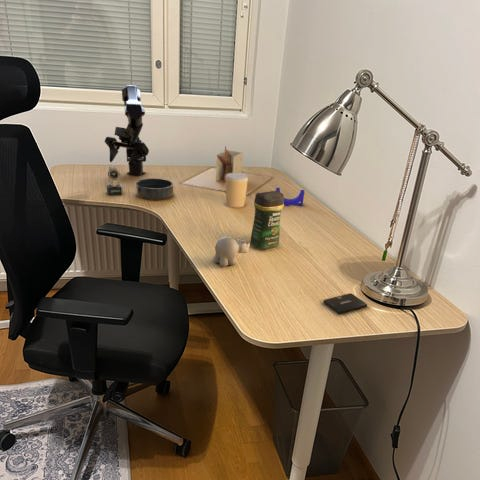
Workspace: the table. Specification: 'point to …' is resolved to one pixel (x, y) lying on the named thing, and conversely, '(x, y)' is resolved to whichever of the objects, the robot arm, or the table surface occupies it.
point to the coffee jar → (267, 219)
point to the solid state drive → (345, 303)
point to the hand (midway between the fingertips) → (119, 163)
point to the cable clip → (295, 200)
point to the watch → (114, 182)
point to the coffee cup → (236, 189)
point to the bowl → (154, 189)
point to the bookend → (225, 165)
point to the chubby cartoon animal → (229, 250)
